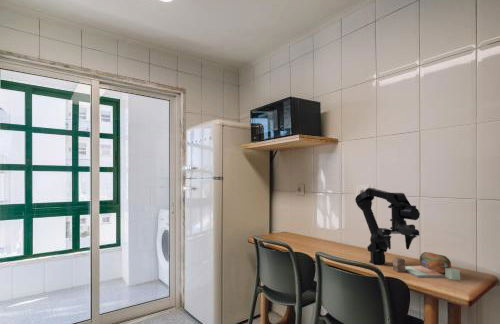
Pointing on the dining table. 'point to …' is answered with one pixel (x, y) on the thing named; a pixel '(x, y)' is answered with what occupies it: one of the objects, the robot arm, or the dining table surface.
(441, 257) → the tin
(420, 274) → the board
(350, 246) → the dining table surface
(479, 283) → the dining table surface
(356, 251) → the dining table surface
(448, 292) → the dining table surface
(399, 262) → the block
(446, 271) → the sage block
